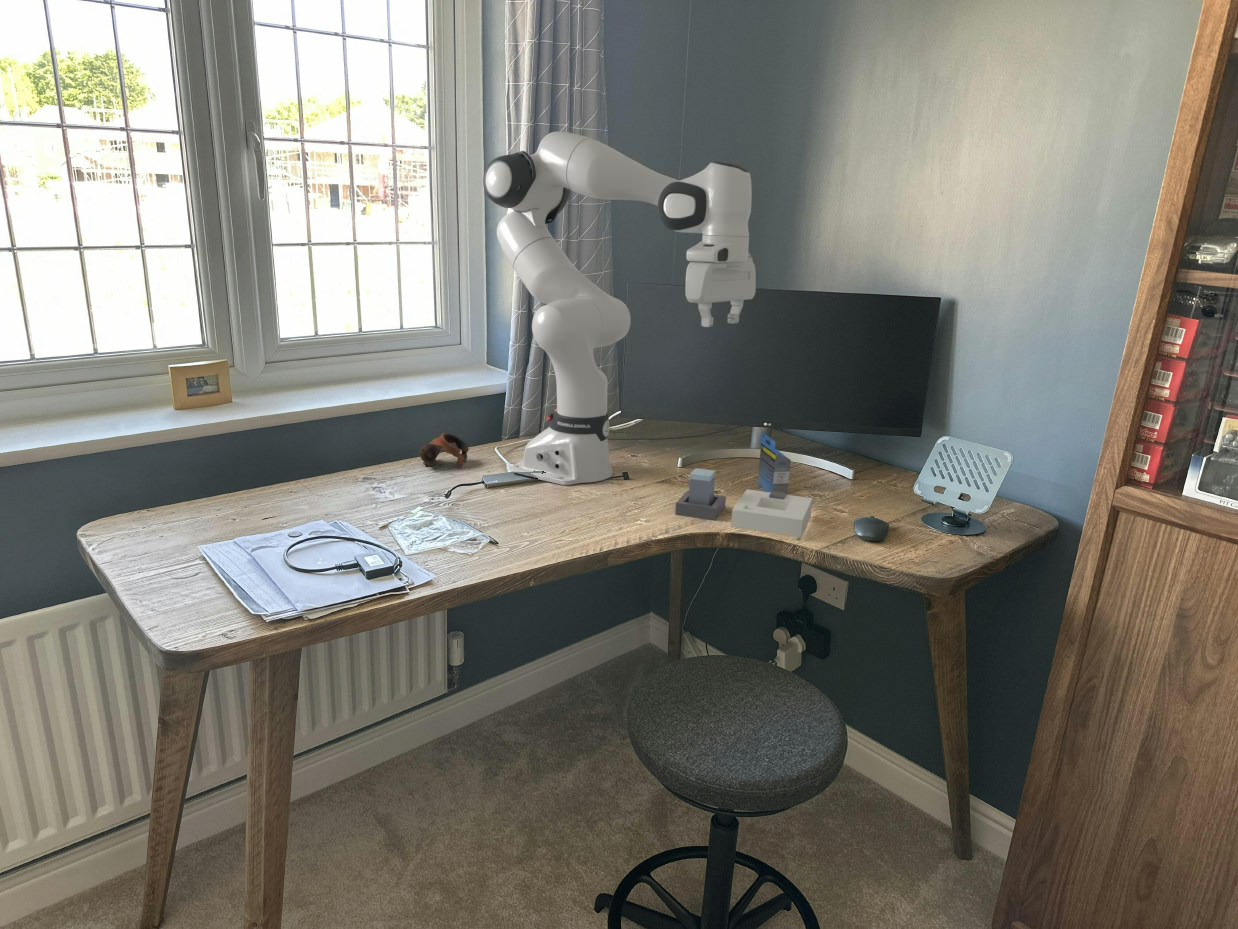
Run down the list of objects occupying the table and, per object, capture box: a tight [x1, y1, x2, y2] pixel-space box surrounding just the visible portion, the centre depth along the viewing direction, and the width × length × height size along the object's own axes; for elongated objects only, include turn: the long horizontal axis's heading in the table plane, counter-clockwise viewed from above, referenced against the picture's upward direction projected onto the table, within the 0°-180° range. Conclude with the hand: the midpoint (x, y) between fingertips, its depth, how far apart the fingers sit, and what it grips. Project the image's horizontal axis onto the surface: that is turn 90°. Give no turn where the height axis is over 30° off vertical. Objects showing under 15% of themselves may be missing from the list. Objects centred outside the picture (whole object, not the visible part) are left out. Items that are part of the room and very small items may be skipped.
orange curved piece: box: [419, 432, 470, 469], centre depth 189 cm, size 12×10×8 cm
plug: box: [688, 468, 716, 506], centre depth 163 cm, size 4×4×8 cm
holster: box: [674, 490, 727, 522], centre depth 164 cm, size 8×8×3 cm
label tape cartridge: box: [757, 430, 792, 495], centre depth 177 cm, size 9×4×12 cm, turn 11°
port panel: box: [730, 489, 813, 541], centre depth 159 cm, size 13×13×4 cm
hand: (720, 324), depth 162 cm, fingers open, 8 cm apart
